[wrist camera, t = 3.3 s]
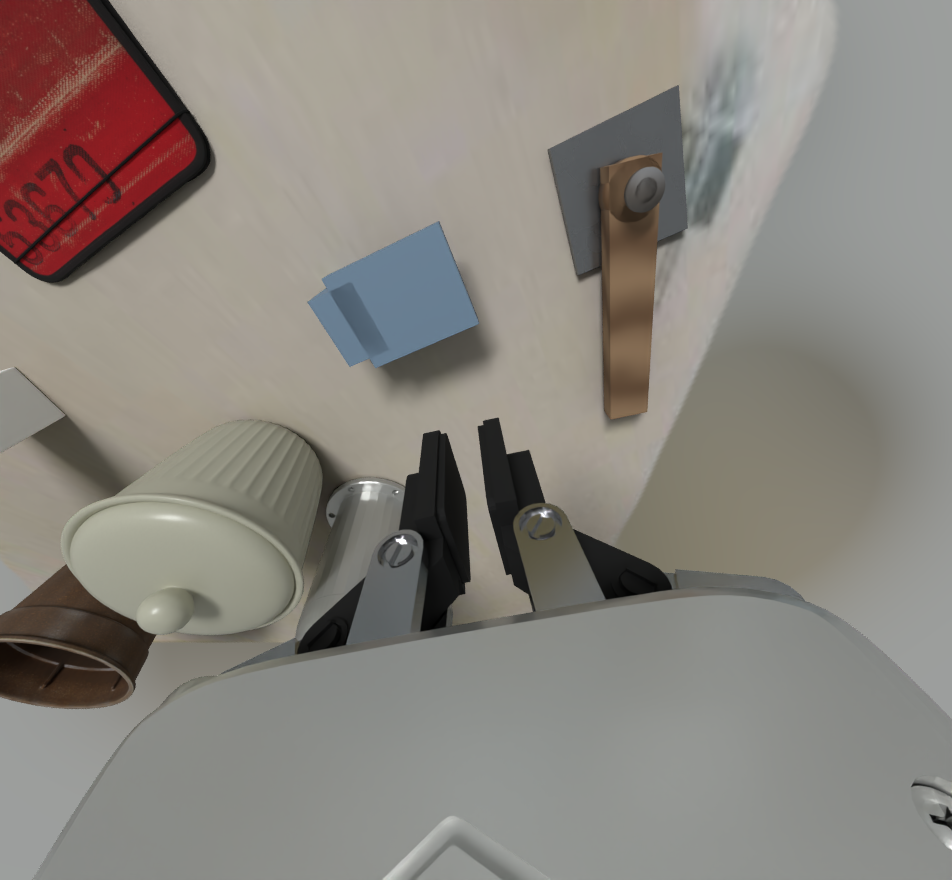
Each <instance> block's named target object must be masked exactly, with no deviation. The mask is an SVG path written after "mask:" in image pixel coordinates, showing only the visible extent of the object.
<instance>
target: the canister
mask: <svg viewBox="0 0 952 880" xmlns="http://www.w3.org/2000/svg"><path fill="white" fill-rule="evenodd" d="M322 481H323V476H322V468H321V466H320V464H319V459H318V458H317V457H316V454H315V452H314V451H313V450H312V449H311V447H310V445H308V444H307V443H306V442H305V441H304V439H302V438H300V437H299V436H298V435H297V434H295V433H293V432H291V431H290V430H289V429H286V428H283V427H281V426H280V425H275V424H273V423H271V422H264V421H262V420H258V421H255V420H251V419H250V420H237V421H235V422H228V423H225V424H223V425H219V426H217V427H215V428H213V429H211V430H209V431H208V432H206V433H204V434H203V435H201V436H199V437H198V438H196V439H195V440H193V441H192V442H190V443H189V444H187V445H186V446H184V447H183V448H181V449H180V450H178V451H177V452H175V453H174V454H173V455H171V456H170V457H168V458H167V459H165V460H164V461H163V462H161V463H160V464H158V465H157V466H156V467H154V468H153V469H151V470H150V471H149V472H147V473H146V474H144V475H143V476H142V477H140V478H139V479H137V480H136V481H134V482H133V483H132V484H130V485H129V486H127V487H126V488H124V489H123V490H122V491H120V492H119V493H118V494H116V495H115V496H114V497H110V498H106V499H103V500H100V501H97V502H94V503H92V504H90V505H88V506H86V507H84V508H83V509H81V510H80V511H78V512H77V513H76V514H75V515H74V516H73V517H71V519H70V520H69V521H68V522H67V524H66V525H65V527H64V529H63V531H62V535H61V551H62V555H63V558H64V560H65V562H66V564H67V566H68V568H69V569H70V571H71V572H72V573H73V575H74V576H75V577H76V578H77V579H78V580H79V581H80V583H81V584H82V585H83V587H84V588H85V589H86V590H87V591H88V592H89V593H90V594H91V595H92V596H93V597H95V598H96V599H97V600H98V601H100V602H101V603H103V604H104V605H106V606H107V607H109V608H110V609H112V610H114V611H116V612H118V613H120V614H121V615H124V616H126V617H128V618H130V619H133V620H135V621H137V623H138V625H139V626H140V627H141V628H142V629H143V630H144V631H146V632H149V633H152V634H157V635H164V634H170V633H173V632H178V633H185V634H194V635H225V634H233V633H239V632H243V631H248V630H253V629H258V628H261V627H265V626H267V625H270V624H272V623H275V622H277V621H279V620H280V619H282V618H284V617H285V616H287V615H288V614H289V613H290V612H291V611H292V610H293V609H294V608H295V607H296V606H297V604H298V603H299V601H300V599H301V596H302V594H303V589H304V579H303V573H302V568H303V564H304V561H305V557H306V553H307V549H308V545H309V541H310V537H311V533H312V530H313V526H314V522H315V518H316V514H317V509H318V505H319V500H320V495H321V490H322Z"/></svg>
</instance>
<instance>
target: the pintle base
mask: <svg viewBox="0 0 952 880" xmlns="http://www.w3.org/2000/svg"><path fill="white" fill-rule="evenodd" d="M662 152H663V153H662ZM548 153H549V158H550V162H551V167H552V171H553V175H554V180H555V184H556V188H557V193H558V197H559V201H560V206H561V210H562V214H563V219H564V223H565V227H566V232H567V236H568V241H569V245H570V249H571V254H572V258H573V262H574V267H575V271H576V274H577V275H580V274H582V273H585V272H587V271H589V270H592V269H594V268H596V267H599V266H601V265H602V242H601V209H600V206H599V200H598V193H599V187H600V168H601V167H605V166H609V165H613V164H615V163H616V162H618V161H619V160H621V159H624V158H628V157H633V156H638V155H645V156H647V155H652V154H657V153H662V173H663V175H664V177H665V191H664V194H663V196H662V198H661V200H660V204H659V221H658V237H657V241H659V240H662V239H664V238H666V237H669V236H671V235H673V234H675V233H678V232H680V231H682V230H685V229H687V228H688V226H687V210H686V194H685V178H684V162H683V146H682V130H681V114H680V98H679V85H677V86H675V87H673V88H671V89H669V90H667V91H665V92H663V93H661V94H659V95H657V96H655V97H653V98H651V99H649V100H647V101H645V102H643V103H641V104H639V105H637V106H635V107H633V108H631V109H629V110H627V111H625V112H623V113H621V114H619V115H617V116H615V117H613V118H611V119H609V120H607V121H605V122H603V123H601V124H599V125H596V126H594V127H592V128H590V129H588V130H586V131H584V132H582V133H580V134H578V135H576V136H574V137H572V138H570V139H568V140H566V141H564V142H562V143H560V144H558V145H556V146H554V147H552V148H550V149H548Z"/></svg>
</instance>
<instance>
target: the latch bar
mask: <svg viewBox="0 0 952 880" xmlns="http://www.w3.org/2000/svg"><path fill="white" fill-rule="evenodd" d="M662 153H663V152H662ZM662 153H657V154H652V155H647V156H645V155H638V156H633V157H628V158H624V159H621V160H619V161H618V162H616V163H615V164H613V165H609V166H605V167H601V168H600V187H599V193H598V200H599V206H600V209H601V242H602V300H603V357H604V411H605V412H606V414H607V415H608V416H609V418H610V419H616V418H621V417H625V416H630V415H635V414H640V413H645V412H647V406H648V389H649V373H650V356H651V339H652V322H653V305H654V288H655V271H656V254H657V237H658V221H659V204H660V200H661V198H662V196H663V194H664V191H665V177H664V175H663V173H662Z"/></svg>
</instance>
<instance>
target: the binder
mask: <svg viewBox="0 0 952 880" xmlns="http://www.w3.org/2000/svg"><path fill="white" fill-rule="evenodd" d="M209 163H210V149H209V145H208V141H207V139H206V137H205V135H204V133H203V132H202V130H201V128H200V127H199V125H198V124H197V123H196V121H195V120H194V119H193V117H192V116H191V114H190V111H188V110H187V109H186V107H185V106H184V104H183V103H182V102H181V100H180V99H179V97H178V96H177V94H176V93H175V92H174V90H173V89H172V87H171V86H170V85H169V83H168V82H167V80H166V79H165V78H164V76H163V75H162V74H161V72H160V71H159V69H158V68H157V67H156V65H155V64H154V63H153V61H152V60H151V59H150V57H149V56H148V54H147V53H146V52H145V50H144V49H143V48H142V46H141V45H140V44H139V42H138V41H137V40H136V38H135V37H134V35H133V34H132V33H131V31H130V30H129V28H128V27H127V26H126V24H125V23H124V21H123V20H122V19H121V17H120V16H119V15H118V13H117V12H116V10H115V9H114V8H113V6H112V5H111V4H110V2H109V1H108V0H0V252H2V253H3V254H4V255H5V256H6V257H8V258H9V259H10V260H11V261H13V262H14V263H15V264H17V265H18V266H19V267H20V268H21V269H22V270H24V271H25V272H26V273H28V274H29V275H31V276H33V277H35V278H37V279H39V280H41V281H45V282H52V283H54V282H59V281H62V280H63V279H65V278H66V277H68V276H69V275H70V274H71V273H72V272H74V271H75V270H76V269H77V268H78V267H80V266H81V265H82V264H83V263H85V262H86V261H87V260H88V259H90V258H91V257H92V256H94V255H95V254H96V253H97V252H98V251H100V250H101V249H102V248H103V247H105V246H106V245H107V244H108V243H110V242H111V241H112V240H114V239H115V238H116V237H118V236H119V235H120V234H122V233H123V232H124V231H125V230H126V229H128V228H129V227H130V226H132V225H133V224H134V223H136V222H137V221H138V220H139V219H141V218H142V217H143V216H145V215H146V214H147V213H148V212H149V211H151V210H152V209H153V208H155V207H156V206H157V205H158V204H159V203H161V202H162V201H164V200H165V199H166V198H167V197H169V196H170V195H171V194H172V193H174V192H175V191H176V190H177V189H179V188H180V187H181V186H183V185H184V184H185V183H186V182H189V181H191V180H193V179H194V178H196V177H197V176H199V175H200V174H201V173H203V172H204V171H205V169H206V168H207V167H208V165H209Z"/></svg>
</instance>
